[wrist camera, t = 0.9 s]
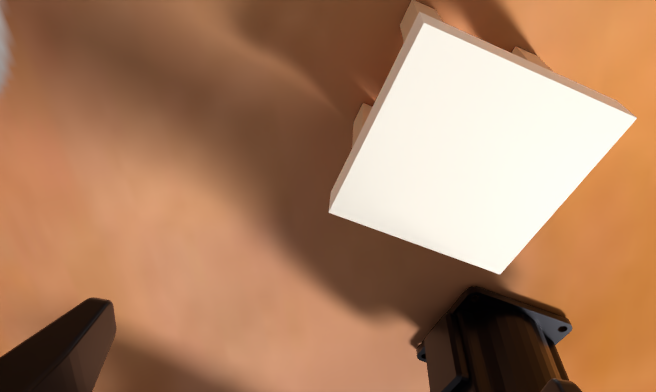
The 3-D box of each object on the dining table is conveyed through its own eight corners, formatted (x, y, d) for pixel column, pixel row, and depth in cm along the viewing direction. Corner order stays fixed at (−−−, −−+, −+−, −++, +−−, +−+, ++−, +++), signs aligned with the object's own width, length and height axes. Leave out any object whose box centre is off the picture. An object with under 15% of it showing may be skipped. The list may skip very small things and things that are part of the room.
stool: (557, 49, 17) (636, 117, 12) (467, 178, 21) (500, 274, 16) (406, -21, 16) (424, 22, 11) (338, 128, 20) (328, 212, 15)
